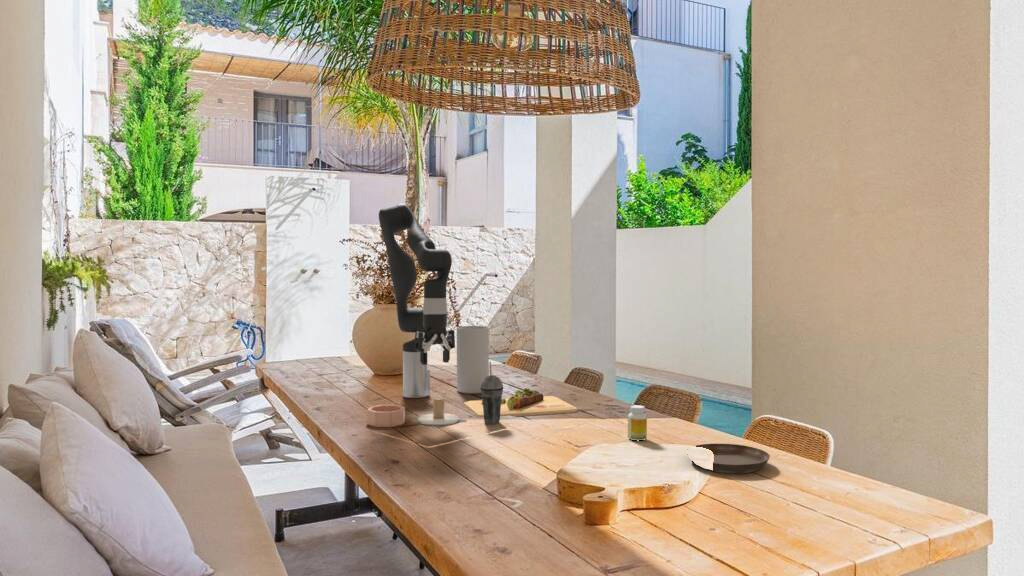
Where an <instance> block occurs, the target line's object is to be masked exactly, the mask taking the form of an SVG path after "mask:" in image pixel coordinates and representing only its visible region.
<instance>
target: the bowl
mask: <svg viewBox="0 0 1024 576" xmlns="http://www.w3.org/2000/svg"><path fill="white" fill-rule="evenodd" d="M366 414H367V415H366V423H367V425H368V426H372V427H376V428H378V427H379V428H385V427H386V428H387V427H389V428H390V427H391V428H392V427H397V426H401V425H404V424H405V422H406V406H403V405H398V404H380V405H373V406H369V407H368V408H367V411H366Z"/></svg>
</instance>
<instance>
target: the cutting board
mask: <svg viewBox="0 0 1024 576" xmlns="http://www.w3.org/2000/svg"><path fill="white" fill-rule="evenodd" d="M463 406H464V407H466V408H468V409H469V410H470V411H471V412H473V413H474V414H475V415H476V416H478V417H484V412H483V400H482V399H477V400H468V401H465V402H463ZM578 410H579V408H578V407H576V406H574V405H572V404H570V403H568V402H567V401H564V400H562V399H561V398H559V397H557V396H554V395H543V393H540V392H539V391H537V389H534V390H531V389H530V388H529V387H524V389H523V390H522V391H521V390H519V389H518V390H514V395H511V396H510V397H509V398H501V410H500V417H501V416H503V417H505V416H508V417H509V416H510V417H514V418H515V417H524V416H526V417H527V416H542V415H556V414H559V415H560V414H571V413H576V412H578Z"/></svg>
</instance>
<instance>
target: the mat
mask: <svg viewBox="0 0 1024 576" xmlns="http://www.w3.org/2000/svg"><path fill="white" fill-rule="evenodd" d="M410 422H411V423H416V424H421V423H419V422H418V418H417V419H412V420H410ZM463 422H467V420H466V419H461V418H459V422H457V423H455V424H460V423H463ZM455 424H454V425H455ZM421 425H422V426H423V425H424V424H421ZM451 425H452V424H450V425H449V426H451ZM424 426H425V425H424ZM427 426H428V427H430V428H431V427H432V428H435V429H439V428H440V427H441V428H442V427H446V426H448V425H440V426H433V425H426V427H427Z"/></svg>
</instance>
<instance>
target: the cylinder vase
mask: <svg viewBox="0 0 1024 576" xmlns="http://www.w3.org/2000/svg"><path fill="white" fill-rule="evenodd" d="M489 329H490V327H489V326H483V325H464V326H457V327H456V391H457V392H459V393H460V394H468V395H476V394H479V395H480V394H481V389H480V388H481V383H482V381H483V380H484V378H485V377H487V376H490V363H489V362H490V360H489V359H490V340H489V339H490V336H489V335H490V330H489Z"/></svg>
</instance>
